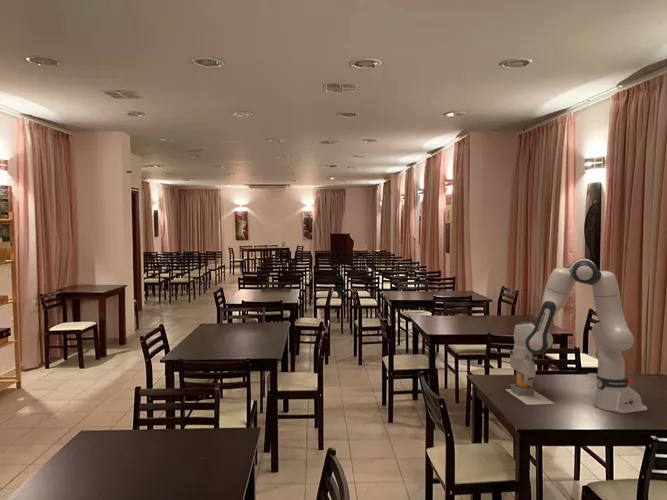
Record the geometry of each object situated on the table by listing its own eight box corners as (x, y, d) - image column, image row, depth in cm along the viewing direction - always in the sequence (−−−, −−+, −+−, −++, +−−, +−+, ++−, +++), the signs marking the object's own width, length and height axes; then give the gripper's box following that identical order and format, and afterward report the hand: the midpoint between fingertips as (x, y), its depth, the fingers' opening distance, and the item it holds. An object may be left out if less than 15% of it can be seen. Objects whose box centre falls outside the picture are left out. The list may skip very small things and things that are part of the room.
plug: (524, 385, 265) (524, 368, 265) (527, 387, 261) (528, 370, 261) (516, 385, 265) (516, 368, 264) (520, 387, 261) (520, 370, 260)
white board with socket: (530, 390, 271) (530, 381, 271) (555, 405, 247) (555, 396, 247) (504, 391, 269) (504, 382, 269) (527, 406, 245) (527, 397, 245)
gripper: (539, 359, 252) (538, 387, 253) (519, 349, 273) (519, 375, 273) (526, 359, 252) (526, 387, 252) (508, 349, 272) (507, 376, 272)
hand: (522, 381), depth 263 cm, fingers closed on plug, 4 cm apart
